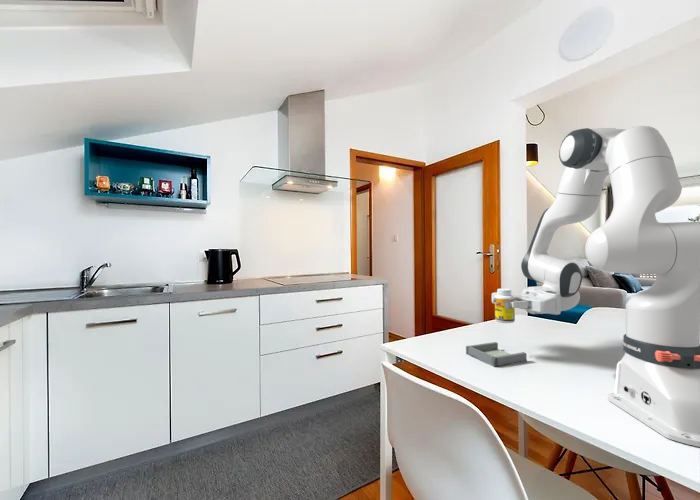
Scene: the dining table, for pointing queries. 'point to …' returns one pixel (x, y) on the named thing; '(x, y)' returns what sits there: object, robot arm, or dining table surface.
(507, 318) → the supplement bottle
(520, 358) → the tray
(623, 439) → the dining table surface
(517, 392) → the dining table surface
